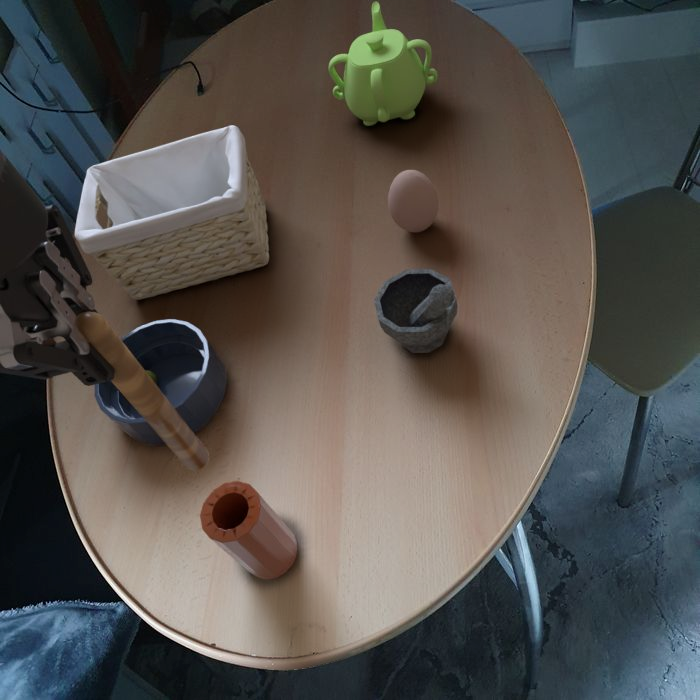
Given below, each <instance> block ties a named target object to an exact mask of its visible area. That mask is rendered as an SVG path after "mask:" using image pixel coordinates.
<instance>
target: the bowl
mask: <svg viewBox="0 0 700 700" xmlns="http://www.w3.org/2000/svg"><path fill="white" fill-rule="evenodd" d="M120 339H121V340H122V342H123V343H124V344H125V345H126V347H127V348H128V349H129V351H130V352H131V353H132V354H133V356H134V357H135V358H136V360H137V361H138V362H139V363H140V365H141V366H142V367H143V369H144V370H149V371H151V372H153V373H154V374H155V375H156V377H157V387H158V388H159V389H160V390H161V392H162V393H163V394H164V395H165V397H166V398H167V399H168V401H169V402H170V403H171V404H172V406H173V407H174V408H175V410H176V411H177V412H178V413H179V415H180V416H181V417H182V419H183V420H184V421H185V422H186V424H187V425H188V426H189V428H190V429H191V430H192V431H193V433H194V434H195V433H197V432H198V431H200V429H202V428H203V427H204V426H205V425H206V424H207V423H208V422H209V421H210V420H211V418H213V417H214V415H215V414H216V413H217V412H218V409H219V407H220V405H221V404H222V402H223V400H224V398H225V394H226V388H227V384H228V376H227V371H226V366H225V364H224V363H223V361H222V359H221V357H220V356H219V355H218V354H217V352H216V351H215V349H214V347H213V346H212V345H211V343H210V342H209V341H208V339H207V338H206V336H205V334H204V333H203V331H202V330H201V329H200V328H199V327H197V326H195V325H193V324H192V323H191V322H189V321H186V320H181V319H176V318H168V319H158V320H154V321H153V320H152V321H151V322H148V323H146V324H143V325H140V326H138V327H136V328H134V329H132V330H131V331H130V332H128V333H126V334H125V335H123V336H122V337H121V338H120ZM94 399H95V401H96V403H97V405H98V407H99V409H100V410H101V412H102V413H103V414H105V416H106V417H108V418H109V419H110V420H111V421H112V422H113V423H114V424H116V426H117V427H119V429H120V430H122V431H123V432H124V433H125V434H126V435H127V436H128V437H130V438H131V439H132V440H133V441H135V442H138V443H142V444H144V445H148V446H161V445H162V446H164V445H167V444H166V443H165V442H164V441H163V440H162V439H161V437H160V436H159V435H158V434H157V433H156V432H155V431H154V429H153V428H152V427H151V426H150V425H149V424H148V423H147V421H146V420H145V419H144V418H143V417H142V416H141V415H140V413H139V412H138V411H137V410H136V409H135V408H134V407H133V405H132V404H131V403H130V402H129V401H128V400H127V399H126V397H125V396H124V395H123V394H122V393H121V392H120V391H119V389H118V388H117V387H116V386H115V385H114V384H113V383H112V381H111V380H110V381H106V382H103V383H99V384H95V385H94Z"/></svg>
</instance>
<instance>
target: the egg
mask: <svg viewBox="0 0 700 700" xmlns="http://www.w3.org/2000/svg"><path fill="white" fill-rule="evenodd" d="M387 204H388V210H389V213H390V216H391V218H392V220H393V222H394V223H395V224H396V225H397V226H398V227H399V228H401V229H402V230H404V231H406V232H410V233H420V232H423V231H425V230H427V229H428V228H429V227H431V226H432V224H433V223H434V222H435V220H436V218H437V215H438V212H439V195H438V192H437V190H436V188H435V186H434V184H433V182H432V180H430V179H429V178H428V177H427V176H426V175H425V174H424V173H423V172H421V171H418V170H416V169H406V170H402V171H401V172H399V173H398V174H397V175H396V176H395V177H394V178H393V180H392V182H391V184H390V187H389V191H388V197H387Z"/></svg>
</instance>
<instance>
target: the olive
mask: <svg viewBox="0 0 700 700" xmlns="http://www.w3.org/2000/svg"><path fill="white" fill-rule="evenodd" d="M145 371H146V372H147V374H148V375H149V376H150V378H151V379H152V380H153V381H154V383H155V384H156V385H157V377H156V375H155V374H154V373H153V372H151V371H149V370H145Z"/></svg>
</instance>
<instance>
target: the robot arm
mask: <svg viewBox="0 0 700 700" xmlns="http://www.w3.org/2000/svg"><path fill="white" fill-rule="evenodd" d="M65 259H66V260H68V262H67V261H66V260H65ZM92 285H93V277H92V274H91V272H90V270H89V268H88V266H87V264H86V261H85V260H84V257H83V255H82V253H81V250H80V249H79V247H78V244H77V243H76V241H75V239H74V237H73V235H72V233H71V230H70V228H69V226H68V224H67V222H66V220H65V217H64V216H63V214H62V212H61V210H60V207H58V205H56V204H49V205H47V206H46V205H45V203H44V202H43V201H42V199H41V198H40V197H39V196H38V194H37V193H36V192H35V190H34V189H33V188H32V187H31V186H30V185H29V183H28V182H27V181H26V180H25V178H24V177H23V176H22V174H21V173H20V172H19V171H18V170H17V168H16V167H15V166H14V164H13V163H12V161H10V159H9V158H8V157H7V155H6V154H4V152H3V151H2V150H1V149H0V373H1V374H7V375H13V376H20V377H25V378H32V379H38V380H43V381H44V380H45V381H46V380H49V379H52V378H53V377H57V376H61V375H65V374H69V373H71V374H73V375H74V377H76V378H77V379H78V380H79V382H81V383H82V384H83V385H84V386H87V387H91V386H95V384H99V383H103V382H106V381H110V380H113V379H114V374H115V369H114V367H113V366H112V365H111V364H110V363H109V362H108V361H107V360H106V359H105V358H104V357H103V356H102V355H101V354H100V353H99V352H98V351H97V350H96V349H95V347H94V346H93V345H92V344H91V343H88V341H87V339H86V338H85V337H84V336H83V334H82V333H81V332H80V331H79V329H78V328H77V327H76V326H75V320H76V316H77V315H79V314H81V313H83V312H89V311H91V312H96V313H98V314H100V313H99V311H97V310H96V308H95V307H96V303H95V300H94V298H93V296H92V294H90V293H89V291H88V290H87V287H88V286H92ZM57 337H60V338H63V339H64V340H62V341H58V342H57V341H56V340H55V339H54V338H57Z"/></svg>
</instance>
